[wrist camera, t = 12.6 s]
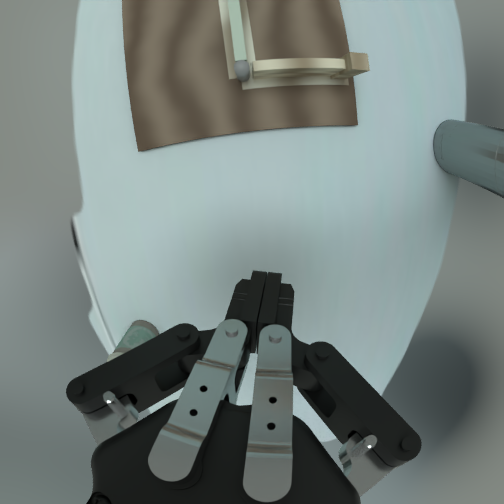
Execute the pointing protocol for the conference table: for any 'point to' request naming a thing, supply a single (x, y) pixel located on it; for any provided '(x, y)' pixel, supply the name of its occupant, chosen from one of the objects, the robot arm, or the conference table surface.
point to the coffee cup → (134, 337)
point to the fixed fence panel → (312, 67)
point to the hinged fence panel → (238, 42)
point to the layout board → (230, 68)
